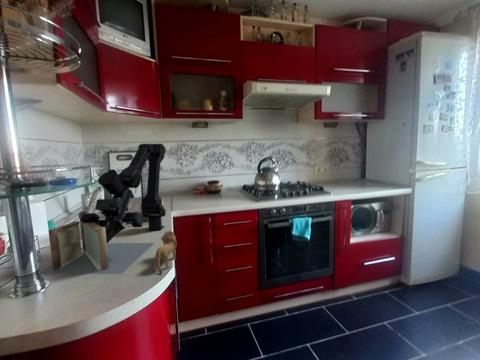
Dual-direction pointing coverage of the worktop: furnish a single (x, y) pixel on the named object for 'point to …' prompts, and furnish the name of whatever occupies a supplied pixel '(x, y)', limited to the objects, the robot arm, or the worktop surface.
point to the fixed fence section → (66, 243)
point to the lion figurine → (166, 250)
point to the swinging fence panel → (96, 243)
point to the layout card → (118, 260)
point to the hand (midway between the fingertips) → (103, 244)
